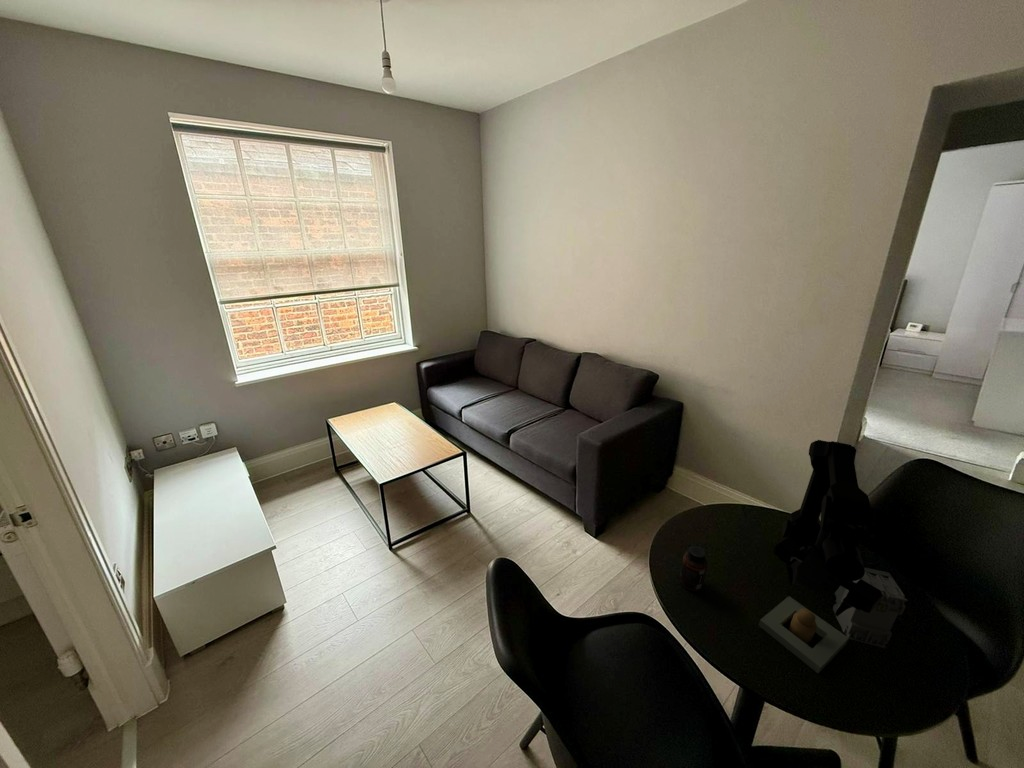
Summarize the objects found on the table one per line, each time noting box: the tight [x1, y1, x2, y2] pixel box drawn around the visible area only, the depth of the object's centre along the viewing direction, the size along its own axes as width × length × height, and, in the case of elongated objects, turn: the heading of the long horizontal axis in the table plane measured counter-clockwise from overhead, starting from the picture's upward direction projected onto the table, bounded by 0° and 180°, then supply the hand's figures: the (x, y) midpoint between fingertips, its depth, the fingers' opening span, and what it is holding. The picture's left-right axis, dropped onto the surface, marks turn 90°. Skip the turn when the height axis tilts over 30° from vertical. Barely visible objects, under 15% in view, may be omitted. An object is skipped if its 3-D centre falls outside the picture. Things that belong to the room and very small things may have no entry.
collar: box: [758, 595, 850, 674], centre depth 93 cm, size 13×13×2 cm
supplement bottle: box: [679, 545, 709, 592], centre depth 105 cm, size 6×6×11 cm
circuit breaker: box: [832, 567, 908, 649], centre depth 95 cm, size 8×14×15 cm, turn 161°
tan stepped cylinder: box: [788, 608, 817, 644], centre depth 92 cm, size 4×4×6 cm
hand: (813, 598), depth 89 cm, fingers open, 9 cm apart
